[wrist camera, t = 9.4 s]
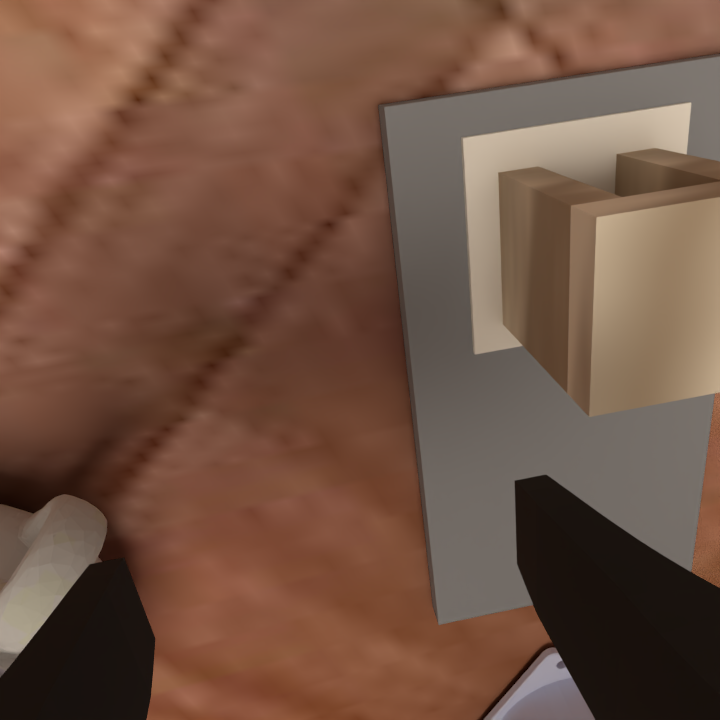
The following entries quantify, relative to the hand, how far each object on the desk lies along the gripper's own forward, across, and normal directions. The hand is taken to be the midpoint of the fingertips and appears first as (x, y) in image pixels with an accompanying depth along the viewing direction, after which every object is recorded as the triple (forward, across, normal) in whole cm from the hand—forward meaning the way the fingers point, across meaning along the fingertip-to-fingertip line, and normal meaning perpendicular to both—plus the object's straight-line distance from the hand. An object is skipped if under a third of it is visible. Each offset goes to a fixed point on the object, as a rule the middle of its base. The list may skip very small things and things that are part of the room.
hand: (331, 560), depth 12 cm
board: (+10, -9, +3) cm, 14 cm away
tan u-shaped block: (+9, -9, -2) cm, 13 cm away
